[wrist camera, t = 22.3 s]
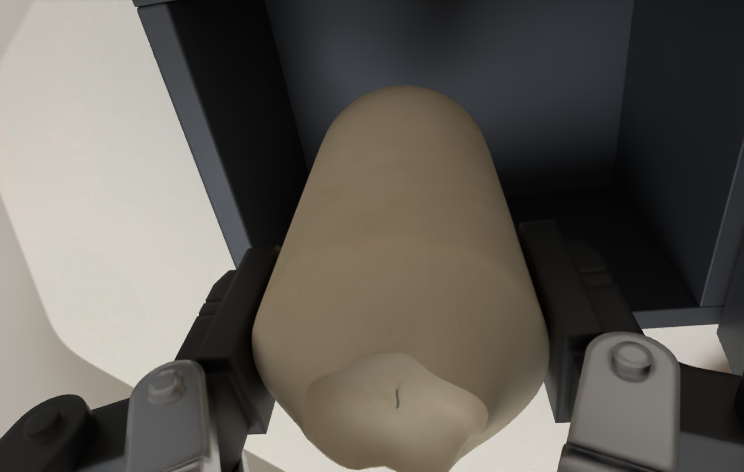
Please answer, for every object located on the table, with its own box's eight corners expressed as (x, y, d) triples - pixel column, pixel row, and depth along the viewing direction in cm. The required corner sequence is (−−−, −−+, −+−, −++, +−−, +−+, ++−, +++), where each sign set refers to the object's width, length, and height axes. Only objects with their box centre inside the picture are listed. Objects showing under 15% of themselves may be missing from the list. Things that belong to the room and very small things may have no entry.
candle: (458, 53, 14) (526, 255, 6) (507, 208, 17) (601, 497, 9) (291, 120, 16) (156, 359, 7) (360, 253, 18) (318, 538, 10)
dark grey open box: (309, 223, 28) (267, 353, 20) (235, -56, 21) (119, -31, 12) (622, 191, 26) (721, 324, 18) (665, -137, 18) (872, -173, 10)
